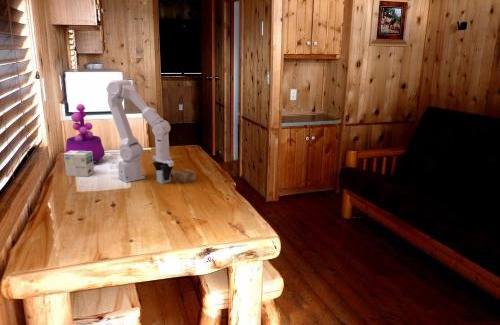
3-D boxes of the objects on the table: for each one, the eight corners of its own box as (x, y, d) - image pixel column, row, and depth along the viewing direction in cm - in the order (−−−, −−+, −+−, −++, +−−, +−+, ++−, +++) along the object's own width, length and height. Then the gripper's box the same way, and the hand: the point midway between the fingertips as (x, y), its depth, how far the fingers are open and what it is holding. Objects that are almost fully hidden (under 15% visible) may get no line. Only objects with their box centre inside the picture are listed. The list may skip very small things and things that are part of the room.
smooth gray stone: (176, 177, 186) (176, 175, 186) (169, 174, 190) (169, 172, 190) (187, 175, 190) (187, 172, 190) (180, 172, 194) (180, 170, 194)
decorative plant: (91, 168, 197) (86, 107, 189) (58, 165, 200) (51, 105, 192) (112, 158, 215) (107, 102, 207) (80, 156, 218) (75, 101, 210)
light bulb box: (94, 172, 190) (92, 150, 187) (87, 177, 184) (85, 154, 181) (73, 171, 191) (70, 149, 188) (65, 176, 185) (63, 153, 182)
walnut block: (184, 183, 178) (184, 174, 177) (175, 180, 182) (175, 171, 181) (196, 180, 183) (195, 171, 182) (187, 177, 187) (186, 168, 186)
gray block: (162, 183, 176) (161, 173, 175) (156, 181, 179) (156, 170, 178) (170, 181, 179) (170, 171, 178) (165, 179, 182) (165, 168, 181)
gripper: (179, 150, 173) (180, 180, 177) (161, 144, 183) (163, 173, 187) (165, 153, 168) (166, 183, 172) (147, 146, 178) (149, 176, 182)
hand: (163, 178), depth 179 cm, fingers closed on gray block, 4 cm apart
